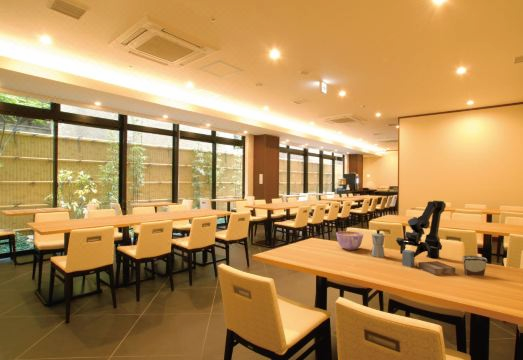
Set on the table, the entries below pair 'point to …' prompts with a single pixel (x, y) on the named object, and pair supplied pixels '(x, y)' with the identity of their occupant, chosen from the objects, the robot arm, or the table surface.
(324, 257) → the table surface
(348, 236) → the bowl of food
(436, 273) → the walnut block
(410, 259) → the slate block
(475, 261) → the food container
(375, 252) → the coffee maker
